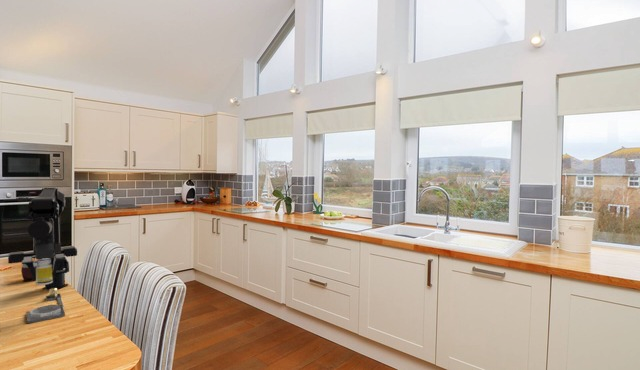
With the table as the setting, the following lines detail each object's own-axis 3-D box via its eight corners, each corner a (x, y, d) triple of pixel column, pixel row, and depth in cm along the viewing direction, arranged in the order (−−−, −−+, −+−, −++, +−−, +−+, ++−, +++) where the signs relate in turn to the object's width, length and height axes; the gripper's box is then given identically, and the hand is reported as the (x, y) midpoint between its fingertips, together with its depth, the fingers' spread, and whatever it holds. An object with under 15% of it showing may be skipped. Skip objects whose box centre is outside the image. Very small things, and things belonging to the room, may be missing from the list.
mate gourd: (25, 283, 156) (24, 249, 156) (18, 280, 160) (17, 247, 160) (45, 279, 162) (44, 246, 162) (38, 276, 167) (37, 244, 166)
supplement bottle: (55, 282, 125) (55, 258, 125) (40, 286, 121) (40, 261, 120) (48, 280, 127) (47, 257, 127) (32, 284, 123) (32, 260, 122)
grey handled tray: (25, 301, 135) (24, 291, 135) (59, 295, 142) (59, 286, 142) (27, 323, 116) (27, 312, 116) (67, 315, 123) (67, 304, 123)
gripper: (7, 240, 111) (8, 289, 111) (79, 234, 123) (79, 278, 124) (8, 236, 120) (8, 282, 120) (74, 230, 132) (75, 272, 132)
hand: (44, 278), depth 124 cm, fingers closed on supplement bottle, 5 cm apart
